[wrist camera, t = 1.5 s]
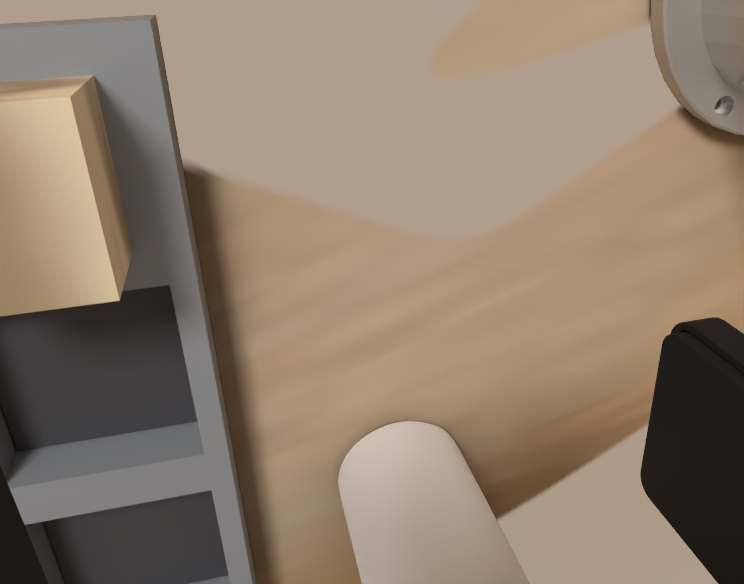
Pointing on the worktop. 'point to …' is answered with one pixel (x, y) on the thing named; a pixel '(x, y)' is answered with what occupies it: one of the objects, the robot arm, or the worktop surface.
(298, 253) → the worktop surface
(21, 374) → the trap deck
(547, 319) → the worktop surface
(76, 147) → the block
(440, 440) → the can
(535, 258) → the worktop surface
